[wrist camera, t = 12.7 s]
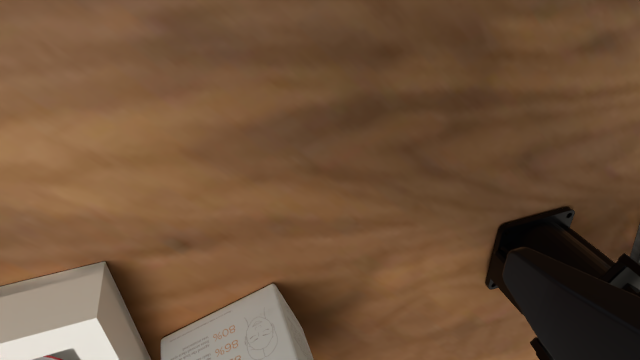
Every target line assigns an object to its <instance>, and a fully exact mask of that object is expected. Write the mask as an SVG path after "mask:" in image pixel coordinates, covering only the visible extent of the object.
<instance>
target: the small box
mask: <svg viewBox="0 0 640 360" xmlns="http://www.w3.org/2000/svg"><path fill="white" fill-rule="evenodd" d="M161 360H314V359H313V356H312V354H311V351H310V348H309V345H308V343H307V340H306V337H305V334H304V332H303V329H302V327H301V325H300V324H299V322H298V320H297V319H296V317H295V315H294V314H293V312H292V310H291V309H290V307H289V306H288V304H287V303H286V301H285V299H284V298H283V296H282V295H281V293H280V291H279V290H278V288H277V287H276V285H275V284H270V285H268V286H266V287H264V288H262V289H260V290H259V291H256V292H254V293H252V294H250V295H249V296H246V297H244V298H242V299H240V300H238V301H236V302H234V303H232V304H230V305H228V306H226V307H224V308H222V309H220V310H218V311H216V312H214V313H212V314H210V315H208V316H206V317H204V318H202V319H200V320H198V321H196V322H194V323H192V324H190V325H188V326H186V327H184V328H182V329H180V330H178V331H176V332H174V333H172V334H170V335H168V336H166V337H164V338H163V339H162V340H161Z"/></svg>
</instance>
